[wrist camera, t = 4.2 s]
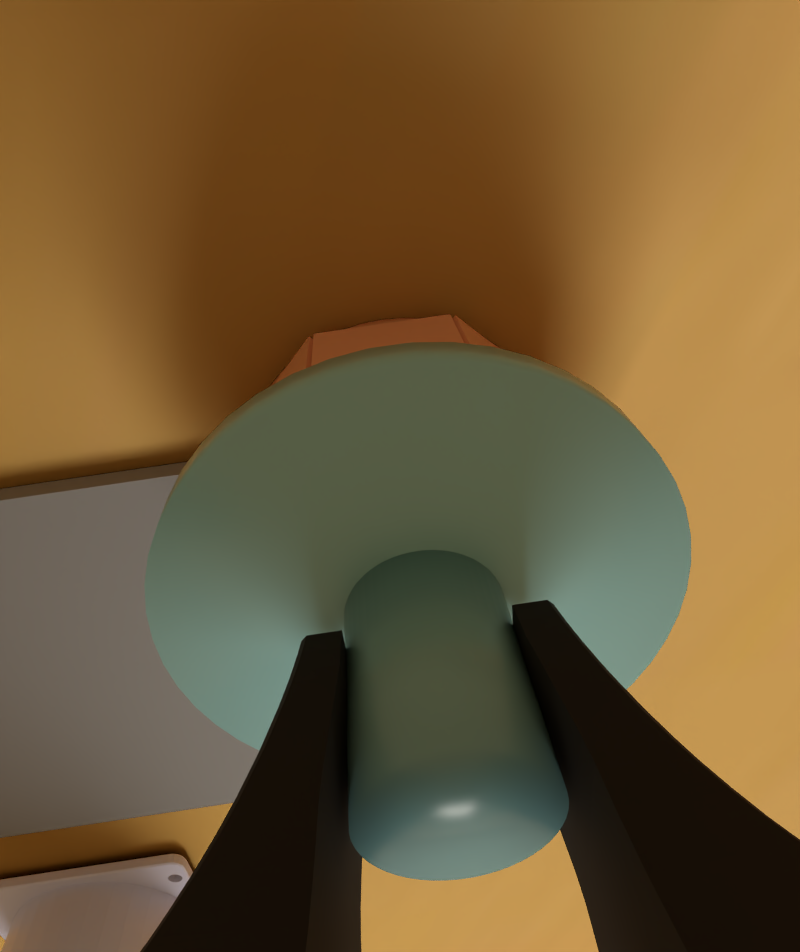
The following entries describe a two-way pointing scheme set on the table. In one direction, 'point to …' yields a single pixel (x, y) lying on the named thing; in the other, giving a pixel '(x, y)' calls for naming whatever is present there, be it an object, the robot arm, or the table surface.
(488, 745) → the lid
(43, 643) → the mat
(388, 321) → the bowl
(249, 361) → the table surface
